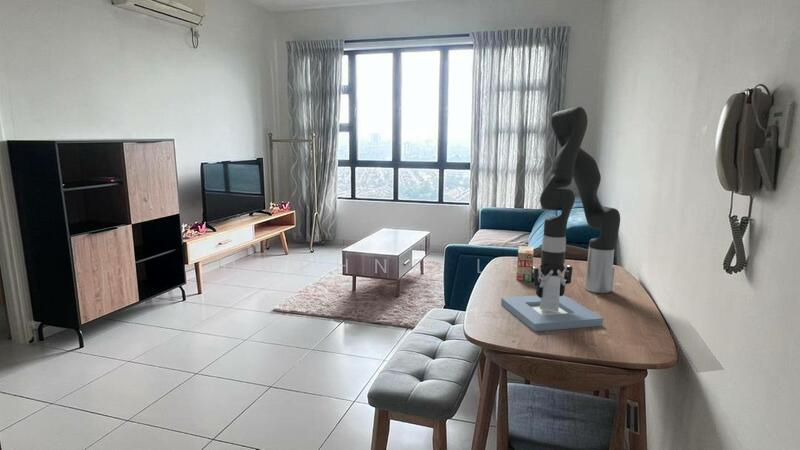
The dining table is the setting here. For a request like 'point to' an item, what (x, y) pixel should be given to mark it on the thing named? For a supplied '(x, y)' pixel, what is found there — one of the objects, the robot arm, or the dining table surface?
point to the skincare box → (551, 293)
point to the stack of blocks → (524, 263)
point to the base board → (550, 313)
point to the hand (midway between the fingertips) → (549, 296)
